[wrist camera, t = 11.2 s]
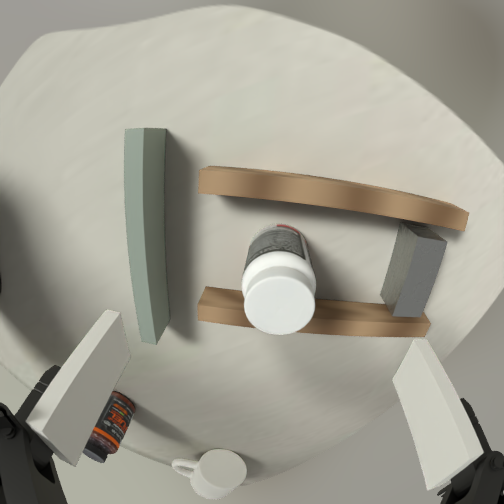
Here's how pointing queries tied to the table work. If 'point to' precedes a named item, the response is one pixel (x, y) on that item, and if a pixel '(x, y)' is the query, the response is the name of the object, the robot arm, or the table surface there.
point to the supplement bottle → (110, 428)
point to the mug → (214, 473)
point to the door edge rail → (146, 228)
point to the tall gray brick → (412, 270)
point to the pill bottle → (278, 281)
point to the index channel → (336, 196)
